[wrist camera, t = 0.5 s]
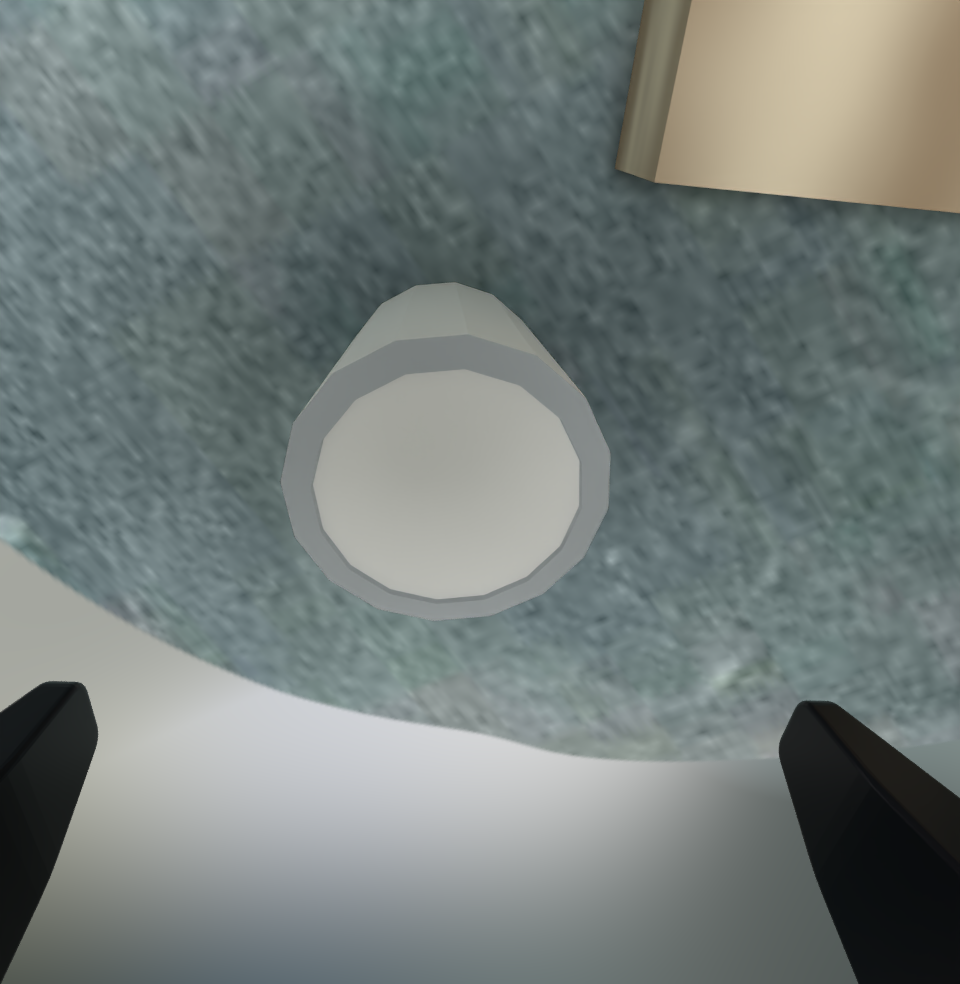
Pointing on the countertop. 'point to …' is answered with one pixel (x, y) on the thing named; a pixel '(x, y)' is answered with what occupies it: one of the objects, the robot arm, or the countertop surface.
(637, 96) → the birch block
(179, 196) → the countertop surface
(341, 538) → the shot glass
